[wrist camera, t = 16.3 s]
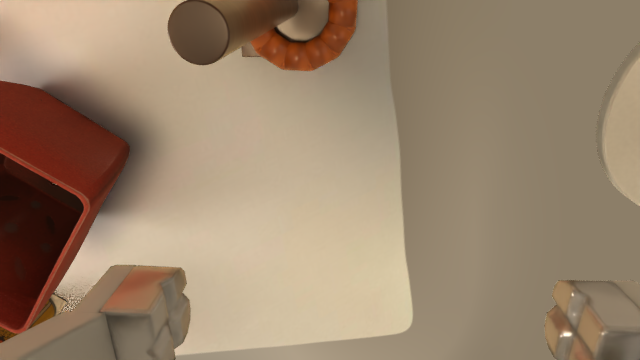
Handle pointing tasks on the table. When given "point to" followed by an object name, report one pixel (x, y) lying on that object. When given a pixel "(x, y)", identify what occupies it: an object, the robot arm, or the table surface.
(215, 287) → the table surface
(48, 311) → the condiment
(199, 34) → the stand
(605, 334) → the robot arm
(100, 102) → the table surface
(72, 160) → the flower pot
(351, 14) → the ring
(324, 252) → the table surface
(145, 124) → the table surface
